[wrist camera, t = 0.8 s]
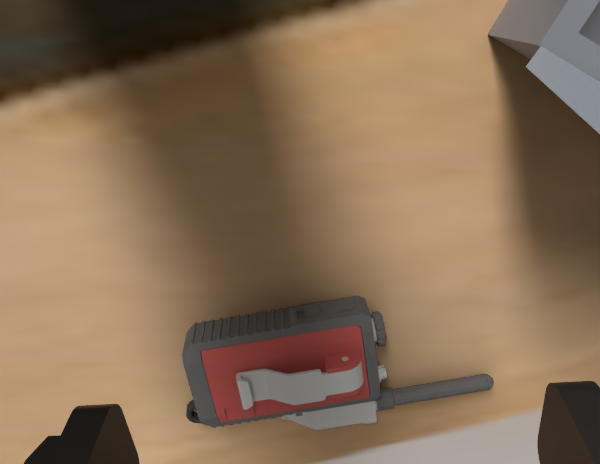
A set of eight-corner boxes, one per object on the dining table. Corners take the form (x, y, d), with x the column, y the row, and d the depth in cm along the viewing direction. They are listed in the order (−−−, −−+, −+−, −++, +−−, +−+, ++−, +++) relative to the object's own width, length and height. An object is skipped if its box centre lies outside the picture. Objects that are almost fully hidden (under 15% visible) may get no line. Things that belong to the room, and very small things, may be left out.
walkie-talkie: (197, 429, 39) (486, 381, 39) (190, 480, 35) (512, 426, 35) (166, 320, 36) (482, 268, 36) (154, 363, 32) (510, 303, 32)
